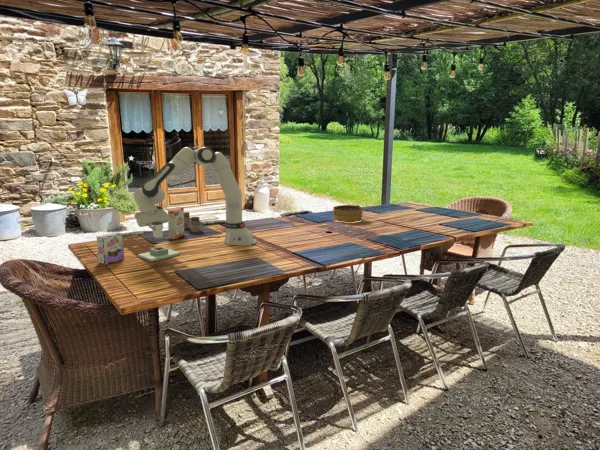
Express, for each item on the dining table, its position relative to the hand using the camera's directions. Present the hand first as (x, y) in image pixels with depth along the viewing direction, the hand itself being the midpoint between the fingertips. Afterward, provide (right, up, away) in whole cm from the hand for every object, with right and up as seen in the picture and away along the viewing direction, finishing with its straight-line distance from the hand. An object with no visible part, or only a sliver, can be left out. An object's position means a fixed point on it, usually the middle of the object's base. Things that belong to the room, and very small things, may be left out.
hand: (158, 229), depth 286 cm
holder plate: (-1, -16, +4) cm, 17 cm away
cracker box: (-2, -6, +50) cm, 50 cm away
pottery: (+3, -1, +73) cm, 74 cm away
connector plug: (-1, -5, +1) cm, 5 cm away
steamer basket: (+127, +6, +114) cm, 171 cm away
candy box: (-25, -19, -8) cm, 33 cm away
